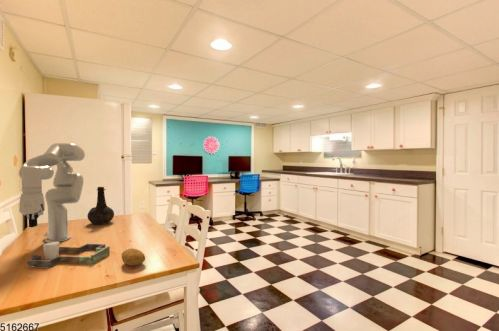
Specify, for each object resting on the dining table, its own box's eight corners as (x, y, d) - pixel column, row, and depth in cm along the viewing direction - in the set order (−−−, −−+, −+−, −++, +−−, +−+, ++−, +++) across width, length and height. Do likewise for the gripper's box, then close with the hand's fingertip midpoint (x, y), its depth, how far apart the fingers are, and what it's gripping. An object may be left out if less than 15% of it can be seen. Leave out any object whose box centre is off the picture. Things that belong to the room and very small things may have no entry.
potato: (126, 271, 116) (126, 256, 116) (118, 262, 126) (118, 248, 125) (147, 265, 122) (147, 251, 122) (138, 257, 132) (138, 244, 131)
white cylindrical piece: (49, 254, 136) (48, 241, 136) (63, 254, 136) (62, 240, 136) (39, 259, 129) (39, 245, 129) (54, 259, 130) (53, 245, 129)
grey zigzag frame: (19, 266, 121) (19, 258, 121) (61, 248, 145) (61, 241, 145) (84, 269, 118) (84, 260, 118) (116, 249, 143) (116, 242, 142)
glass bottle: (98, 220, 209) (98, 185, 208) (119, 220, 207) (118, 185, 206) (81, 226, 191) (80, 188, 190) (103, 226, 189) (103, 188, 188)
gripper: (11, 191, 129) (12, 228, 130) (39, 191, 128) (40, 228, 128) (25, 189, 137) (26, 224, 137) (52, 189, 135) (52, 225, 136)
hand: (33, 226), depth 133 cm, fingers closed
